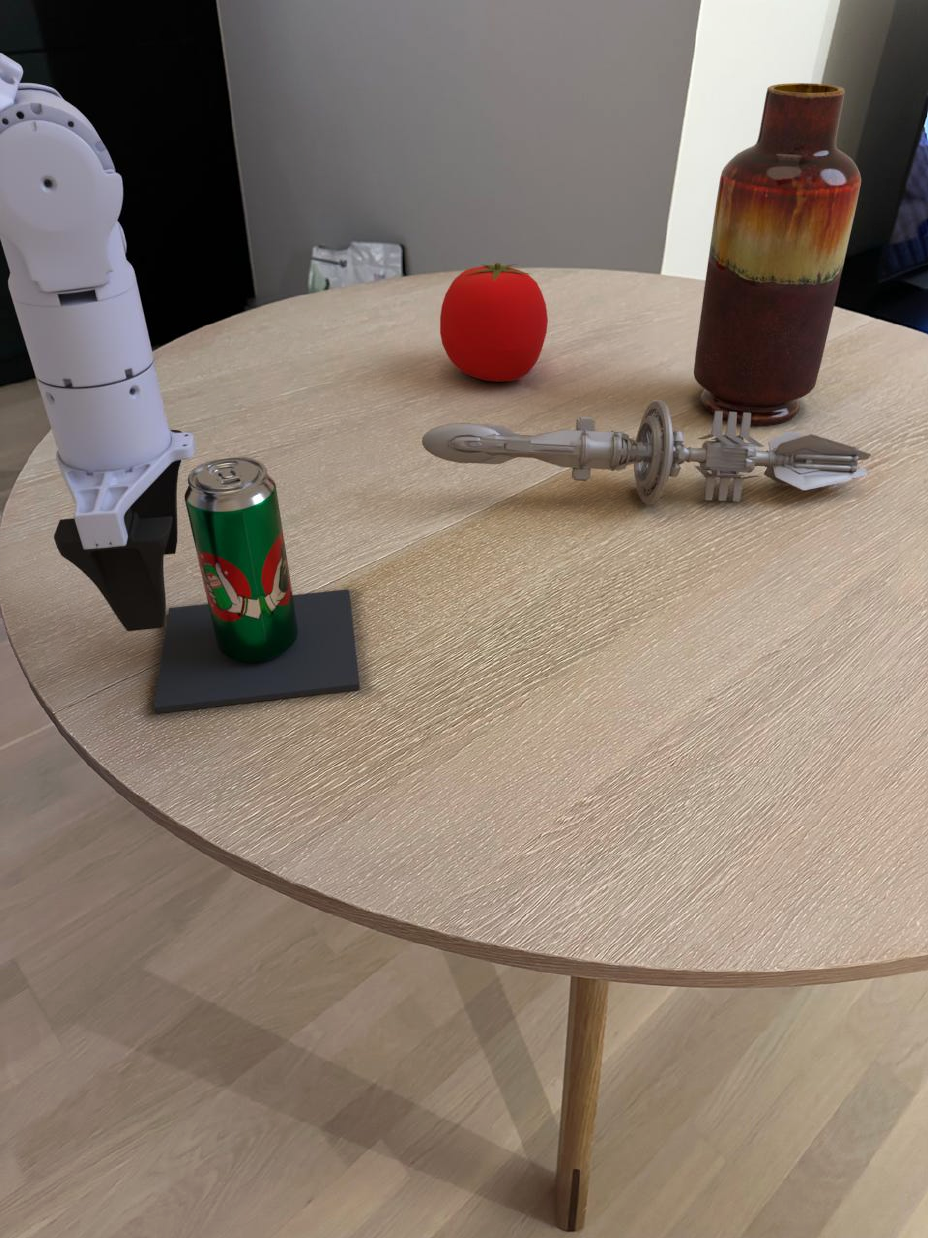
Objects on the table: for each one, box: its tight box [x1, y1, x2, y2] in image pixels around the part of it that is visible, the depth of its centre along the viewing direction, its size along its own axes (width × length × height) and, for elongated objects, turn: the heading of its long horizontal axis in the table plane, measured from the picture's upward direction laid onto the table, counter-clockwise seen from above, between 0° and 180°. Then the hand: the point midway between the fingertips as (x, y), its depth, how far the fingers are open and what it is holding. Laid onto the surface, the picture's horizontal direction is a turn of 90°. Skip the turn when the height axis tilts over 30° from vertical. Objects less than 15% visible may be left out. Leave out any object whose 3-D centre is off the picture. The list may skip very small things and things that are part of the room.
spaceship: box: [421, 399, 872, 506], centre depth 71 cm, size 8×35×8 cm
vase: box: [693, 82, 862, 426], centre depth 79 cm, size 11×11×26 cm
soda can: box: [184, 455, 298, 664], centre depth 55 cm, size 5×5×12 cm
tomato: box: [439, 262, 549, 383], centre depth 91 cm, size 10×11×11 cm
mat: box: [153, 588, 361, 714], centre depth 59 cm, size 12×10×1 cm
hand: (152, 587), depth 55 cm, fingers open, 7 cm apart
